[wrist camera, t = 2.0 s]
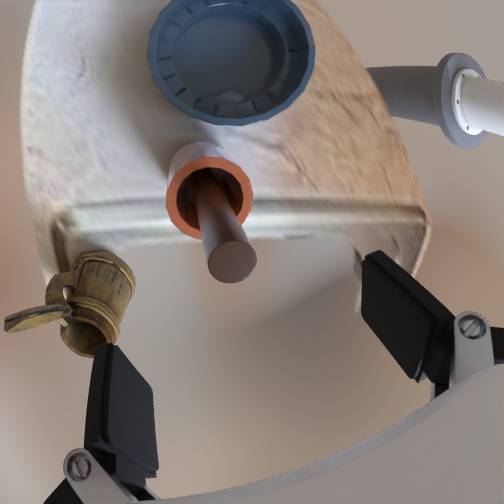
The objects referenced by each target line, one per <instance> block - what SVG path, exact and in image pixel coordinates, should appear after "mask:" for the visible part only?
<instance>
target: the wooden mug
mask: <svg viewBox="0 0 504 504" xmlns="http://www.w3.org/2000/svg"><path fill="white" fill-rule="evenodd" d="M135 286H136V283H135V277H134V274H133V272H132V270H131V269H130V267H129V266H128V265H127V264H126V263H125V262H124V261H123V260H122V259H120V258H119V257H117V256H116V255H114V254H112V253H109V252H105V251H93V252H90V253H86V254H83V255H81V256H80V257H78V259H77V260H76V262H75V263H74V265H73V268H72V270H71V272H65V273H60V274H57V275H55V276H54V277H53V278H52V279H51V280H50V281H49V284H48V286H47V289H46V296H45V297H46V298H45V301H46V302H45V303H46V305H45V306H40V307H34V308H30V309H27V310H23V311H20V312H18V313H15V314H12V315H10V316H7V317H5V324H4V330H5V331H6V332H8V333H14V332H18V331H21V330H26V329H29V328H32V327H36V326H39V325H42V324H45V323H48V322H51V321H54V320H56V321H58V322H59V323H60V327H61V330H60V331H61V332H60V333H61V334H60V335H61V337H62V340H63V341H64V343H65V344H66V345H67V346H68V347H69V348H70V349H71V350H72V351H73V352H75V353H76V354H78V355H80V356H83V357H88V358H94V354H95V349H96V347H97V346H99V345H103V344H106V343H112V344H114V343H115V342H116V340H117V338H118V336H119V333H120V323H121V321H122V318H123V315H124V313H125V310H126V308H127V305H128V303H129V302H130V300H131V298H132V296H133V294H134V291H135ZM64 287H66V288H68V294H67V299H66V300H65V298H64V295H63V288H64Z"/></svg>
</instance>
